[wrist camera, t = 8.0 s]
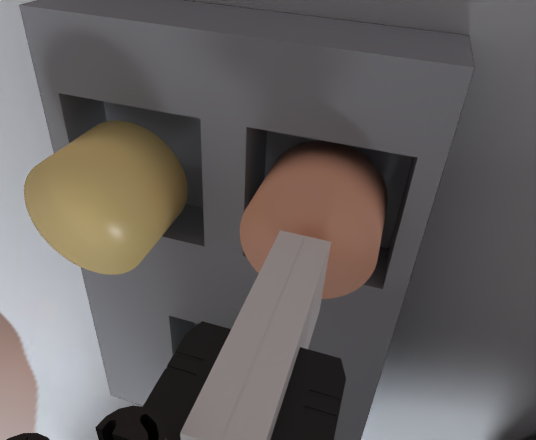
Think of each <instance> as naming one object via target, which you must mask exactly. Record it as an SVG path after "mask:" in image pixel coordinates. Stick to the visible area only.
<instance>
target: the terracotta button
mask: <svg viewBox="0 0 536 440" xmlns="http://www.w3.org/2000/svg"><path fill="white" fill-rule="evenodd" d="M387 203H388V195H387V189H386V185H385V182H384V180H383V178H382V175H381V174H380V172H379V171H378V169H377V168H376V166H375V165H374V164H373V163H372V162H371V161H370V160H369V159H368V158H367V157H366V156H365V155H363V154H362V153H360V152H359V151H357V150H355V149H353V148H351V147H349V146H346V145H344V144H339V143H334V142H328V141H310V142H306V143H302V144H299V145H296V146H294V147H292V148H290V149H289V150H287V151H286V152H285V153H283V154H282V155H281V156H280V157H279V158H278V159H277V160H276V162H275V163H274V165H273V166H272V168H271V169H270V171H269V173H268V174H267V176H266V177H265V179H264V181H263V182H262V184H261V185H260V187H259V189H258V190H257V192H256V193H255V195H254V197H253V198H252V200H251V202H250V203H249V205H248V206H247V208H246V210H245V212H244V214H243V216H242V219H241V223H240V240H241V245H242V248H243V251H244V253H245V255H246V257H247V259H248V261H249V262H250V264H251V265H252V266H253V268H254V269H255V270H256V271H257V272H258V273H259V272H260V270H261V268H262V266H263V264H264V262H265V260H266V258H267V256H268V254H269V252H270V250H271V248H272V246H273V244H274V242H275V240H276V238H277V236H278V234H279V232H280V230H281V231H286V232H290V233H295V234H299V235H303V236H308V237H312V238H317V239H321V240H326V241H330V242H331V245H330V251H329V257H328V263H327V269H326V275H325V281H324V287H323V293H322V299H331V298H336V297H341V296H344V295H347V294H349V293H351V292H353V291H355V290H357V289H358V288H360V287H361V286H362V285H363V284H364V283H365V282H366V281H367V280H368V279H369V278H370V276H371V275H372V273H373V271H374V269H375V267H376V264H377V260H378V254H379V249H380V243H381V238H382V232H383V226H384V221H385V215H386V210H387Z"/></svg>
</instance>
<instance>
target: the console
mask: <svg viewBox="0 0 536 440" xmlns="http://www.w3.org/2000/svg"><path fill="white" fill-rule="evenodd" d="M19 6H20V11H21V15H22V19H23V23H24V28H25V32H26V36H27V40H28V45H29V49H30V53H31V57H32V62H33V66H34V70H35V74H36V79H37V83H38V87H39V91H40V96H41V100H42V104H43V108H44V113H45V117H46V121H47V126H48V130H49V134H50V138H51V143H52V147H53V151H54V153H56V152H57V151H59V150H60V149H62V148H63V147H65V146H66V145H68V144H69V143H71V142H72V141H74V140H75V139H77V138H78V137H79V136H81V135H82V134H84V133H85V132H87V131H88V130H90V129H91V128H93V127H95V126H96V125H98V124H100V123H103V122H107V121H126V122H130V123H134V124H136V125H139V126H141V127H143V128H145V129H147V130H149V131H150V132H152V133H153V134H155V135H156V136H158V137H159V138H160V139H161V140H162V141H163V142H164V143H165V144H166V145H167V146H168V147H169V148H170V149H171V150H172V152H173V153H174V154H175V156H176V157H177V159H178V160H179V162H180V164H181V166H182V168H183V171H184V173H185V177H186V181H187V188H188V195H187V201H186V204H185V207H184V209H183V211H182V212H181V213H180V215H179V216H178V217H177V218H176V220H175V221H174V222H173V223H172V224H171V226H170V227H169V228H168V229H167V231H166V232H165V233H164V234H163V235H162V237H161V238H160V239H159V240H158V242H157V243H156V244H155V245H154V246H153V248H152V249H151V250H150V251H149V253H148V254H147V255H146V256H145V257H144V259H143V260H142V261H141V262H140V264H139V265H138V266H137V267H135V268H134V269H133V270H131V271H129V272H126V273H123V274H117V275H108V274H101V273H96V272H93V271H90V270H87V269H84V268H82V267H81V270H82V275H83V279H84V283H85V287H86V292H87V296H88V300H89V304H90V309H91V313H92V317H93V321H94V326H95V330H96V334H97V338H98V343H99V347H100V351H101V355H102V360H103V364H104V368H105V372H106V377H107V381H108V385H109V389H110V394H111V395H112V396H115V397H118V398H121V399H124V400H127V401H130V402H133V403H136V404H139V405H144V403H145V402H146V400H147V398H148V397H149V395H150V393H151V392H152V390H153V388H154V387H155V385H156V383H157V381H158V380H159V378H160V376H161V375H162V373H163V371H164V370H165V369H166V368H167V365H168V363H169V361H170V360H171V358H172V356H173V355H174V354H175V351H176V349H177V348H178V346H179V344H180V343H181V341H182V339H183V338H184V336H185V334H186V333H188V332H189V331H190V330H191V329H193V328H194V327H195V326H197V325H198V324H199V323H200V322H202V321H204V322H207V323H211V324H214V325H218V326H222V327H225V328H229V329H232V327H233V325H234V323H235V321H236V319H237V317H238V315H239V313H240V311H241V309H242V307H243V305H244V303H245V300H246V298H247V296H248V294H249V292H250V290H251V288H252V286H253V284H254V282H255V280H256V278H257V276H258V274H259V273H258V272H257V271H256V270H255V269H254V268H253V266H252V265H251V264H250V262H249V261H248V259H247V257H246V255H245V253H244V251H243V248H242V245H241V240H240V223H241V219H242V216H243V214H244V212H245V210H246V208H247V206H248V205H249V203H250V202H251V200H252V198H253V197H254V195H255V193H256V192H257V190H258V189H259V187H260V185H261V184H262V182H263V181H264V179H265V177H266V176H267V174H268V173H269V171H270V169H271V168H272V166H273V165H274V163H275V162H276V160H277V159H278V158H279V157H280V156H281V155H282V154H283V153H285V152H286V151H287V150H289V149H290V148H292V147H294V146H296V145H299V144H302V143H306V142H310V141H328V142H334V143H339V144H344V145H346V146H349V147H351V148H353V149H355V150H357V151H359V152H360V153H362V154H363V155H365V156H366V157H367V158H368V159H369V160H370V161H371V162H372V163H373V164H374V165H375V166H376V168H377V169H378V171H379V172H380V174H381V175H382V178H383V180H384V182H385V185H386V189H387V195H388V203H387V210H386V215H385V221H384V226H383V232H382V238H381V243H380V249H379V254H378V260H377V264H376V267H375V269H374V271H373V273H372V275H371V276H370V278H369V279H368V280H367V281H366V282H365V283H364V284H363V285H362V286H361V287H360V288H358V289H357V290H355V291H353V292H351V293H349V294H347V295H344V296H341V297H336V298H331V299H321V305H320V311H319V314H318V318H317V321H316V324H315V328H314V331H313V334H312V337H311V341H310V344H309V347H308V349H309V350H312V351H316V352H320V353H323V354H327V355H330V356H334V357H338V358H341V360H342V364H343V368H344V372H345V376H346V382H345V387H344V392H343V397H342V401H341V406H340V411H339V416H338V421H337V426H336V431H335V436H334V440H361V437H362V434H363V431H364V428H365V424H366V421H367V418H368V415H369V411H370V408H371V405H372V401H373V398H374V395H375V392H376V388H377V385H378V382H379V379H380V375H381V372H382V369H383V366H384V362H385V359H386V356H387V352H388V349H389V346H390V343H391V339H392V336H393V333H394V330H395V326H396V323H397V320H398V317H399V313H400V310H401V307H402V303H403V300H404V297H405V294H406V290H407V287H408V284H409V281H410V277H411V274H412V271H413V267H414V264H415V261H416V258H417V254H418V251H419V248H420V245H421V241H422V238H423V235H424V232H425V228H426V225H427V222H428V218H429V215H430V212H431V209H432V205H433V202H434V199H435V196H436V192H437V189H438V186H439V183H440V179H441V176H442V173H443V169H444V166H445V163H446V160H447V156H448V153H449V150H450V147H451V143H452V140H453V137H454V134H455V130H456V127H457V124H458V120H459V117H460V114H461V111H462V107H463V104H464V101H465V98H466V94H467V91H468V88H469V85H470V81H471V78H472V75H473V71H474V68H475V67H474V61H473V55H472V50H471V44H470V39H469V35H461V34H453V33H445V32H437V31H428V30H420V29H412V28H404V27H396V26H388V25H380V24H372V23H364V22H356V21H348V20H340V19H332V18H324V17H316V16H308V15H299V14H291V13H283V12H275V11H267V10H259V9H251V8H243V7H235V6H227V5H219V4H211V3H203V2H195V1H187V0H36V1H33V2H29V3H25V4H21V5H19Z"/></svg>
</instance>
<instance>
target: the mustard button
mask: <svg viewBox="0 0 536 440" xmlns="http://www.w3.org/2000/svg"><path fill="white" fill-rule="evenodd" d="M187 195H188V188H187V181H186V177H185V173H184V171H183V168H182V166H181V164H180V162H179V160H178V159H177V157H176V156H175V154H174V153H173V152H172V150H171V149H170V148H169V147H168V146H167V145H166V144H165V143H164V142H163V141H162V140H161V139H160V138H159V137H158V136H156V135H155V134H153V133H152V132H150V131H149V130H147V129H145V128H143V127H141V126H139V125H136V124H134V123H130V122H126V121H107V122H103V123H100V124H98V125H96V126H95V127H93V128H91V129H90V130H88V131H87V132H85V133H84V134H82V135H81V136H79V137H78V138H77V139H75V140H74V141H72V142H71V143H69V144H68V145H66V146H65V147H63V148H62V149H60V150H59V151H57V152H56V153H54V154H53V155H51V156H50V157H48V158H47V159H45V160H44V161H42V162H41V163H39V164H38V165H36V166H35V167H34V168H33V169H32V170H31V171H30V173H29V174H28V176H27V179H26V182H25V186H24V197H25V203H26V207H27V210H28V213H29V215H30V217H31V220H32V222H33V223H34V225H35V227H36V228H37V230H38V231H39V233H40V234H41V235H42V237H43V238H44V239H45V240H46V241H47V242H48V243H49V244H50V245H51V246H52V247H53V248H54V249H55V250H56V251H57V252H58V253H59V254H61V255H62V256H63V257H65V258H66V259H68V260H69V261H71V262H72V263H74V264H76V265H78V266H80V267H82V268H84V269H87V270H90V271H93V272H96V273H101V274H108V275H117V274H123V273H126V272H129V271H131V270H133V269H134V268H135V267H137V266H138V265H139V264H140V262H141V261H142V260H143V259H144V257H145V256H146V255H147V254H148V253H149V251H150V250H151V249H152V248H153V246H154V245H155V244H156V243H157V242H158V240H159V239H160V238H161V237H162V235H163V234H164V233H165V232H166V231H167V229H168V228H169V227H170V226H171V224H172V223H173V222H174V221H175V220H176V218H177V217H178V216H179V215H180V213H181V212H182V211H183V209H184V207H185V204H186V201H187Z"/></svg>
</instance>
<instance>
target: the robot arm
mask: <svg viewBox="0 0 536 440" xmlns="http://www.w3.org/2000/svg"><path fill="white" fill-rule="evenodd" d="M330 245H331V242H330V241H326V240H321V239H317V238H312V237H308V236H303V235H299V234H295V233H290V232H286V231H281V230H280V232H279V234H278V236H277V238H276V240H275V242H274V244H273V246H272V248H271V250H270V252H269V254H268V256H267V258H266V260H265V262H264V264H263V266H262V268H261V270H260V272H259V274H258V276H257V278H256V280H255V282H254V284H253V286H252V288H251V290H250V292H249V294H248V296H247V298H246V300H245V303H244V305H243V307H242V309H241V311H240V313H239V315H238V317H237V319H236V321H235V323H234V325H233V327H232V329H229V328H225V327H222V326H218V325H214V324H211V323H207V322H204V321H202V322H200V323H199V324H198V325H197V326H195V327H194V328H193V329H191V330H190V331H189V332H188V333H186V334H185V336H184V338H183V339H182V341H181V343H180V344H179V346H178V348H177V349H176V351H175V354H174V355H173V356H172V358H171V360H170V361H169V363H168V365H167V368H166V369H165V370H164V371H163V373H162V375H161V376H160V378H159V380H158V381H157V383H156V385H155V387H154V388H153V390H152V392H151V393H150V395H149V397H148V398H147V400H146V402H145V403H144V405H143V407H139V406H130V407H125V408H121V409H118V410H116V411H114V412H113V413H111V414H109V415H108V416H106V417H105V418H104V419H103V420H102V421H101V422H100V423H99V425H98V426H97V427H96V431H97V435H98V439H99V440H334V436H335V431H336V426H337V421H338V416H339V411H340V406H341V401H342V397H343V392H344V387H345V382H346V376H345V372H344V368H343V364H342V360H341V358H338V357H334V356H330V355H327V354H323V353H320V352H316V351H312V350H309V349H308V347H309V344H310V341H311V337H312V334H313V331H314V328H315V324H316V321H317V318H318V314H319V311H320V305H321V299H322V293H323V287H324V281H325V275H326V269H327V263H328V257H329V251H330ZM7 440H49V438H48V437H45V436H43V435H40V434H38V433H23V434H20V435H17V436H14V437H11V438H9V439H7ZM528 440H536V436H535V437H533V438H530V439H528Z"/></svg>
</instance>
